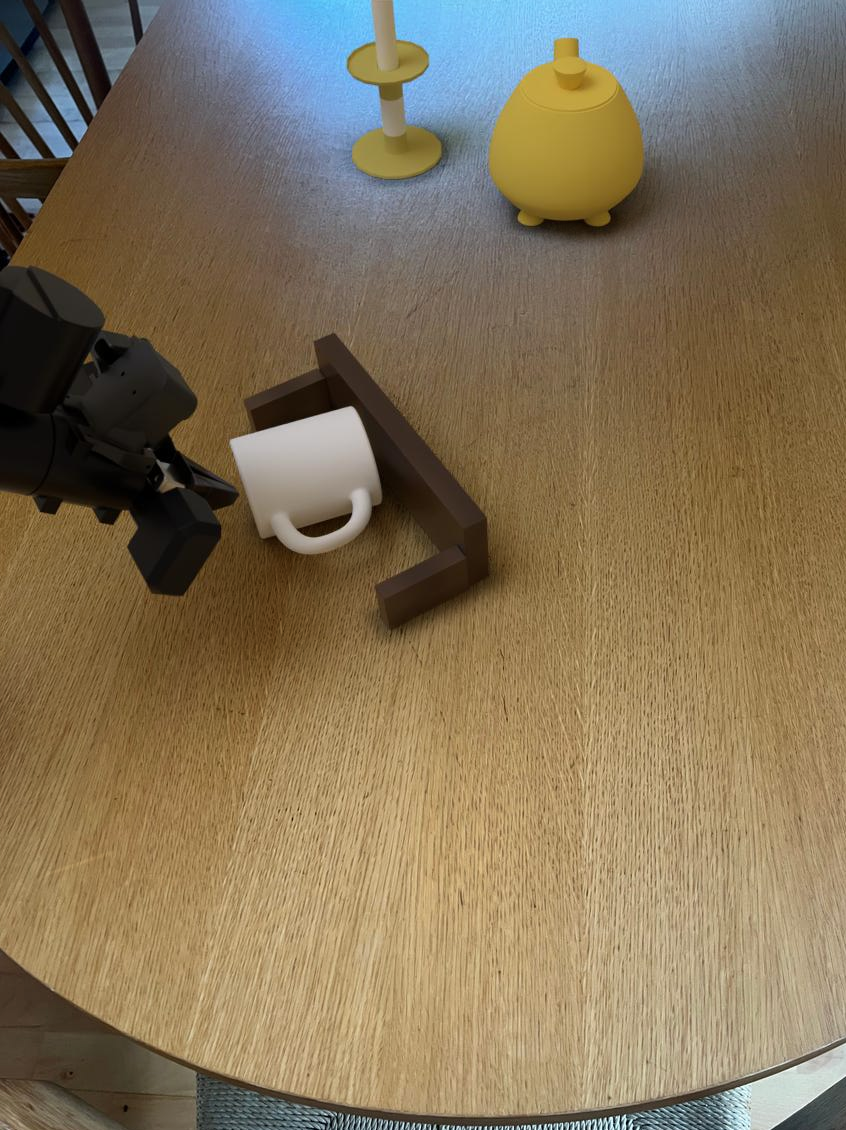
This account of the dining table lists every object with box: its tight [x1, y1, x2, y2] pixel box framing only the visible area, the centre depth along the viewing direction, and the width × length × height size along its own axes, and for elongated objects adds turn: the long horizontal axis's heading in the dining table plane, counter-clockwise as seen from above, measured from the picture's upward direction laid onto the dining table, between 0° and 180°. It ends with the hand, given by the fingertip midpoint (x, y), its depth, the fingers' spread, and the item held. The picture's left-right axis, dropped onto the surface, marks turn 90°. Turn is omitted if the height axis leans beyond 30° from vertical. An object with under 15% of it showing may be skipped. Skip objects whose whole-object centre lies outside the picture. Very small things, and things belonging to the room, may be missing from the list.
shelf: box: [242, 332, 490, 631], centre depth 80 cm, size 9×24×7 cm, turn 32°
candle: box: [346, 0, 443, 180], centre depth 100 cm, size 10×10×27 cm
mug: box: [229, 406, 383, 555], centre depth 79 cm, size 12×10×8 cm
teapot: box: [488, 37, 645, 227], centre depth 101 cm, size 20×16×14 cm
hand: (234, 496), depth 75 cm, fingers closed
